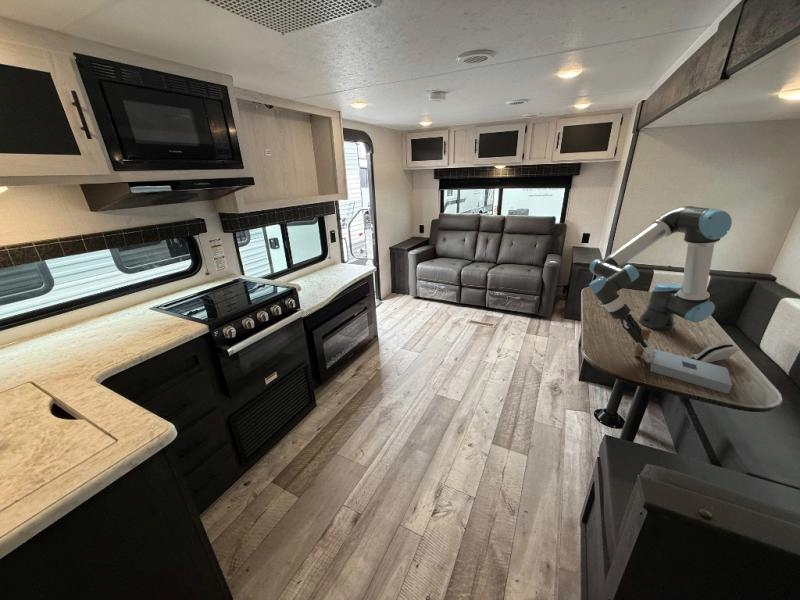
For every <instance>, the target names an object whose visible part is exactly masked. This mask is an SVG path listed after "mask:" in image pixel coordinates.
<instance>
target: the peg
mask: <svg viewBox="0 0 800 600" xmlns="http://www.w3.org/2000/svg"><path fill="white" fill-rule="evenodd" d="M651 333H652V330H651V328H650V329H649V328H648V327H647V328H645V327H644V328H642V333H641V336H642V337H643V339H645V340H646V341H648V340H649V338H650V335H651ZM644 352H645V350H644V349H643V348H642V346H641V345H640V344H639V343H637V345H636V347H635V350H634V354H633V355H635V356H636V357H638V358H639V357H643V355H644Z"/></svg>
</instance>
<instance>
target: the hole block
mask: <svg viewBox="0 0 800 600" xmlns="http://www.w3.org/2000/svg"><path fill="white" fill-rule="evenodd" d="M653 350H654V352H652V353H651V357H650V369H649V370H650V372H652V373H655V374H659V375H663V376H666V377H670V378H673V379H675V380H680V381H684V382H686V383H689V384H694V385H697V386H699V387H703V388H706V389H710V390H714V391H717V392H720V393H724V394H727V395H729V393H730V392H731V389H732V387H733V382H732V380H731V376H730V373H729V370H728V367H725V366H721V365H717V364H713V363H711V362H708V363H706V362H702V361H699V360H700V359H699V360H697V359H695V358H690V357H687V356H683V355H679V354H676V353H671V352H667V351H664V350H660V349H656V348H654V349H653Z"/></svg>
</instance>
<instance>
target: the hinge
mask: <svg viewBox="0 0 800 600" xmlns="http://www.w3.org/2000/svg"><path fill="white" fill-rule="evenodd" d="M737 351H739V349H738V347H736V346H734V344H732V343H730V342H720V343H716V344H713V345H710V346H708V347H705V348H704V349H703V350H702V351H700V352H699V353H696V354H692V355H690V356H689V358H691V359H695V360H699V361H702V362H706V363H712V362H718V361H722V360H727V359H729V358H730V357H732V356H733V355H734V354H735V353H736V352H737Z"/></svg>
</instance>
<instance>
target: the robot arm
mask: <svg viewBox="0 0 800 600" xmlns="http://www.w3.org/2000/svg"><path fill="white" fill-rule="evenodd" d="M731 228H732V217H731V215H730V214H729V213H728V212H727V211H725V210H721V209H717V208H707V207H699V206H691V205H689V206H687V205H686V206H681V207H676V208H674V209H672V210H670V211H668V212H666V213H664V214H662V215H661V216H659V217H657V218H656V219H655V220H653V221H652V222H651V225H650V226H648V227H647V228H645V229H644V230H643V231H641V232H640V233H638V234H637V235H636V236H634V237H633V238H631V239H630V240H628V241H627V242H626V243H624V244H623V245H622V246H620V247H618V248H617V249H616V250H614V251H613V252H612V253H610V254H609V255H607V256H605V258H603V259H599V258H597V259H595V260H592V261H591V263H590V264H589V272H591V273H592V274H593V275H595V276H596V277H597V278H596V279H594V280H592V281H591V282H590V283H588V288H589V289H590V291H591V293H592V294H593V295H594V296H595V297H596V298H597V300H598V302H601V303H602V304H603V305H602V308H603V309H606V311H607V312H609V315H610V316H611V317H612V318H613V320H620V323H621V325H622V328H623V329H624V330H625V331H626V332H627V334H628V335H629V336H630V337H632V340H634V341H635V343H637V344H638V343H639V344H640V345H641V346H642V348H643V349H644V352H645V353H646V354H647V355H649V354H652V353H653V352H654V349H656V348H655V345H653V343H652V342H651V341H650V340H649V339H648V341H646V340H645V339H643V337H642V336H641V333H642V330H643V328H642V327H641V326H640V325H639V323H640V324H641V325H643V326H644V327H647V328H648V329H649V328H650V329H654V330H656V331H657V330H658V331H665V332H666V331H667V332H668V331H672V330H673V329H674V328H675V315H676V316H679V317H680V318H682V319H684V320H686V321H689V322H692V323H699V322H703V321H705V320H706V319H708V318H709V317H710V316H711V315H712V314H713V313H714V311H715V310H716V305H715V303H714V302H713V301H711V300H710V297H711V296H710V292H708V291H707V287H708V281H709V276H710V272H711V266H712V260H713V253H714V249H715V244H716V243H718V242H720V241H721V239H722V238H723V237H725V236H726V235H727V234H728V231H730V230H731ZM675 233H682V234H684V237H683V238H684V239H683V241H684V242H685V243H687V248H686V249H687V250H686V255H685V263H684V270H683V278H682V283H681V285H679V284H674V283H673V284H672V283H657V284H655V285H654V286H653V289H652V292H651V295H650V297H649V300H648V305H647V307H646V309H644V311H643V312H642V314H641V315H640V316H639V318H638V322H639V323H638V322H637V321H636V320H635V318H634V317H633V315H632V314H631V313H630V312H631V308H630V307H629V306H628V305H627V304H626V303H625V301H624V300H623V299H622V297H621V296H620V295H619V294H618V292H619V291H620V290H623V289H624V288H626V287H627V286H628V285H630V284H632V283H633V282H635V281H636V280H637V279H638V278H639V277H640V273H639V269H637V268H636V267H634V266H633V265H631V264H626V263H628V262H629V261H631V260H632V259H634V258H635V257H637V256H638V255H639V254H641V253H642V252H644V251H645V250H647V249H648V248H650V247H651V246H653V245H654V244H655V243H657V242H658V241H660V240H662V239H663V238H664V237H666V238H667V237H669V236H671V235H673V234H675ZM625 264H626V265H625Z"/></svg>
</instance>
